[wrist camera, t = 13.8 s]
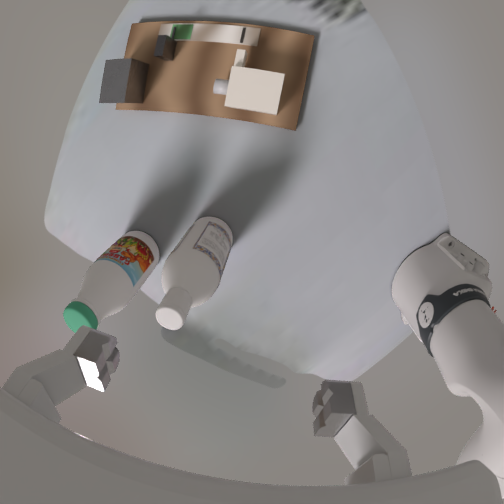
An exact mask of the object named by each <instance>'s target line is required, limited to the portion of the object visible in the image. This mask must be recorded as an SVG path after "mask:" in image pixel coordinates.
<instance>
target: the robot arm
mask: <svg viewBox="0 0 504 504" xmlns="http://www.w3.org/2000/svg"><path fill="white" fill-rule="evenodd" d="M449 243H450V244H449ZM488 273H489V263H488V262H487V261H486V260H485V259H484V258H483V257H481V256H480V255H478V254H477V253H476V252H474V251H473V250H472V249H470V248H469V247H467V246H466V245H464V244H463V243H461V242H460V241H459V240H457V239H456V238H454V237H453V236H451V235H450V234H448V233H444V234H442V235H440V236H439V237H438V238H437V239H436V240H435V241H434V242H433V243H431V244H429V245H427V246H424V247H422V248H420V249H418V250H416V251H415V252H413V253H412V254H411V255H410V256H408V257H407V258H406V259H405V261H404V262H403V263H402V264H401V266H400V267H399V269H398V270H397V272H396V274H395V277H394V280H393V284H392V297H393V300H394V302H395V304H396V306H397V307H398V308H399V309H400V311H401V317H402V321H403V322H404V323H405V324H406V325H410V326H411V328H412V329H413V331H414V332H415V334H416V335H417V337H418V338H419V340H420V341H421V342H423V343H424V344H423V345H424V347H425V349H426V350H427V351H428V353H429V354H430V355H431V356H432V357H433V358H434V359H435V361H436V363H437V365H438V367H439V369H440V372H441V374H442V376H443V378H444V380H445V383H446V385H447V387H448V389H449V390H450V391H451V392H452V393H453V394H455V395H457V396H471V397H472V398H473V399H474V400H475V401H476V402H477V403H478V405H479V406H480V408H481V410H482V412H483V419H484V421H483V423H482V424H481V425H480V427H479V428H478V429H477V430H476V432H475V433H474V434H473V436H472V437H471V438H470V439H469V440H468V442H467V443H466V444H465V446H464V448H463V450H462V452H461V454H460V456H459V458H458V460H457V462H456V465H454V466H452V467H448V468H444V469H440V470H436V471H432V472H428V473H424V474H420V475H415V476H412V473H411V468H410V463H409V459H408V454H407V450H406V449H405V448H404V447H403V446H402V445H401V444H400V443H399V442H398V441H397V440H396V439H395V438H394V437H393V436H392V435H391V434H390V433H389V432H388V430H386V428H385V427H384V426H383V425H382V424H381V423H380V422H379V421H378V420H377V419H376V418H375V417H374V416H373V415H369V411H368V406H367V402H366V398H365V393H364V389H363V385H362V383H361V382H351V381H349V382H348V381H338V380H325V381H323V382H322V384H321V390H319V391H317V393H316V395H315V397H314V400H313V406H312V409H313V414H314V415H315V417H316V419H315V420H314V422H313V428H314V436H322V437H334V439H335V440H336V442H337V444H338V445H339V446H340V448H341V450H342V451H343V453H344V454H345V456H346V457H347V458H348V460H349V461H350V463H351V464H352V466H353V467H354V468H355V470H354V471H353V472H352V473H351V474H349V475H348V476H347V477H345V478H344V482H345V485H334V486H290V485H289V486H288V485H271V484H260V483H251V482H242V481H235V480H228V479H222V478H216V477H211V476H206V475H200V474H196V473H191V472H187V471H183V470H179V469H175V468H171V467H167V466H164V465H160V464H157V463H153V462H150V461H147V460H144V459H141V458H138V457H135V456H132V455H129V454H126V453H124V452H121V451H118V450H115V449H113V448H110V447H108V446H105V445H103V444H101V443H98V442H96V441H94V440H91V439H89V438H87V437H85V436H83V435H80V434H78V433H76V432H74V431H72V430H70V429H68V428H66V427H64V426H62V425H60V424H59V422H60V420H61V416H60V414H59V412H58V411H57V409H56V407H55V406H57V405H58V404H60V403H61V402H63V401H64V400H66V399H68V398H69V397H71V396H72V395H74V394H75V393H77V392H79V391H80V390H81V389H83V388H85V387H86V386H87V385H88V386H90V387H93V388H95V389H98V390H101V391H104V392H105V390H106V388H107V386H108V384H109V382H110V380H111V379H110V374H112V373H114V372H115V371H116V369H117V367H118V364H119V360H120V359H119V357H120V354H119V350H118V349H117V348H116V347H115V346H116V345H117V339H116V337H114V336H112V335H109V334H106V333H103V332H101V331H98V330H96V329H93V328H90V327H87V326H85V325H83V326H81V327H80V328H79V329H78V330H77V332H76V333H75V334H74V336H73V337H72V338H71V340H70V341H69V342H68V344H67V345H66V346H65V348H64V349H63V350H60V349H59V350H57V351H55V352H53V353H50V354H48V355H45V356H43V357H41V358H38V359H36V360H33V361H31V362H29V363H26V364H24V365H22V366H19V367H17V368H16V369H15V370H14V372H13V373H12V374H11V376H10V377H9V379H8V380H7V382H6V383H5V384H4V386H3V387H2V388H1V387H0V504H503V501H502V499H504V324H503V323H502V322H501V320H500V319H499V318H498V317H497V315H496V314H495V312H496V310H495V311H494V312H493V309H494V307H492V308H491V307H490V304H489V301H488V300H489V298H490V295H491V290H492V283H491V281H490V280H489V278H488V277H487V276H488Z"/></svg>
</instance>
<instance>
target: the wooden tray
mask: <svg viewBox="0 0 504 504" xmlns="http://www.w3.org/2000/svg"><path fill="white" fill-rule="evenodd" d="M174 27H176V31H175V35H174V40H175V41H177V45H176V49H175V54H174V59H173V61H164V60H162V59H160V58H158V57H155V56H154V52H155V47H156V43H157V38H158V35H168V36H169V37H172V33H173V29H174ZM313 41H314V36H313V35H309V34H304V33H300V32H295V31H290V30H284V29H278V28H272V27H266V26H258V25H250V24H241V23H230V22H215V21H160V22H145V23H134V24H132V26H131V30H130V34H129V38H128V42H127V47H126V51H125V56H124V59H126V58H133V59H136V60H139V61H142V62H145V63H148V64H149V70H148V75H147V81H146V87H145V93H144V100H143V104H142V103H117V104H116V110H148V111H164V112H177V113H188V114H198V115H207V116H215V117H222V118H229V119H236V120H242V121H248V122H254V123H260V124H265V125H271V126H276V127H281V128H286V129H290V130H295V131H296V126H297V121H298V116H299V111H300V107H301V102H302V97H303V92H304V87H305V82H306V77H307V72H308V67H309V62H310V57H311V52H312V46H313ZM237 49H242V50H246V52H247V57H246V62H245V68H252V69H259V70H265V71H271V72H277V73H282V74H285V75H284V81H283V86H282V91H281V96H280V101H279V106H278V111H277V115H272V114H266V113H261V112H255V111H249V110H243V109H236V108H230V107H227V106H224V105H225V99H226V95H222V94H214V93H213V87H214V82H215V80H216V79H225V80H229V78H230V73H231V68H232V66H234V62H235V57H236V52H237Z"/></svg>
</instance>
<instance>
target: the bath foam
mask: <svg viewBox="0 0 504 504" xmlns="http://www.w3.org/2000/svg"><path fill="white" fill-rule="evenodd" d="M232 244H233V236H232V232H231V230H230V228H229V226H228V225H227V224H226V223H225V222H224V221H222V220H220V219H218V218H215V217H203V218H200V219H198V220H197V221H195V222H194V223H193V224H192V226H191V227H190V228H189V230H188V231H187V232H186V233H185V235H184V236H183V238H182V239H181V240H180V242H179V243H178V244H177V246H176V247H175V248H174V250H173V251H172V252H171V254H170V255H169V257H168V258H167V260H166V262H165V264H164V267H163V270H162V286H163V290H164V292H165V296H164V298H163V300H162V302H161V303H160V305H159V307H158V309H157V311H156V319H157V321H158V322H159V324H161V325H162V326H163V327H165V328H167V329H170V330H177V329H179V328H181V327H182V326H183V324H184V322H185V320H186V317H187V315H188V312H189V310H190V308H192V307H196V306H199V305H201V304H203V303H205V302H206V301H207V300H209V299H210V298H211V297H212V295H213V294H214V293H215V291H216V289H217V288H218V286H219V283H220V280H221V277H222V274H223V271H224V268H225V265H226V262H227V259H228V256H229V253H230V250H231V247H232Z"/></svg>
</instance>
